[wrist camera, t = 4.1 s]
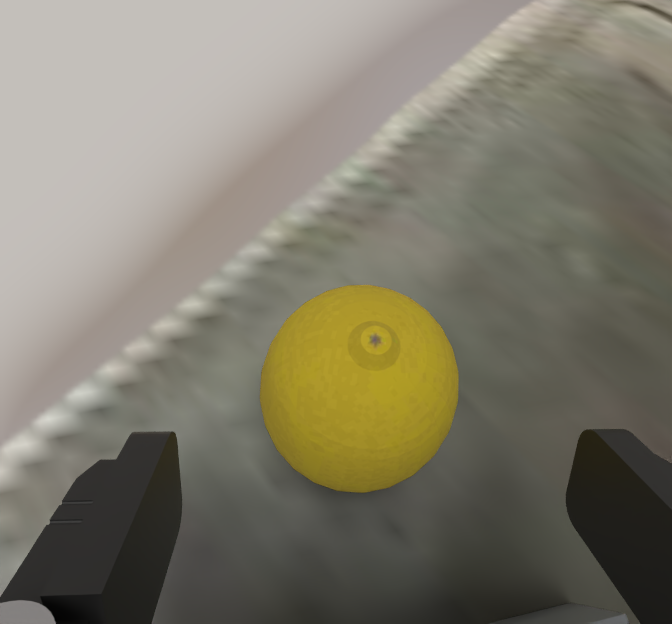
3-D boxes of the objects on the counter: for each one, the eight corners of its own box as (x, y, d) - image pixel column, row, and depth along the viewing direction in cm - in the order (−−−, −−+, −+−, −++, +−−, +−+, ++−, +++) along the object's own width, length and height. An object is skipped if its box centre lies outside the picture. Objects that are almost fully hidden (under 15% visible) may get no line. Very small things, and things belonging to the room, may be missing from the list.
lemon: (266, 353, 19) (248, 234, 12) (409, 347, 20) (476, 230, 12) (268, 508, 17) (246, 480, 9) (431, 498, 17) (527, 463, 10)
